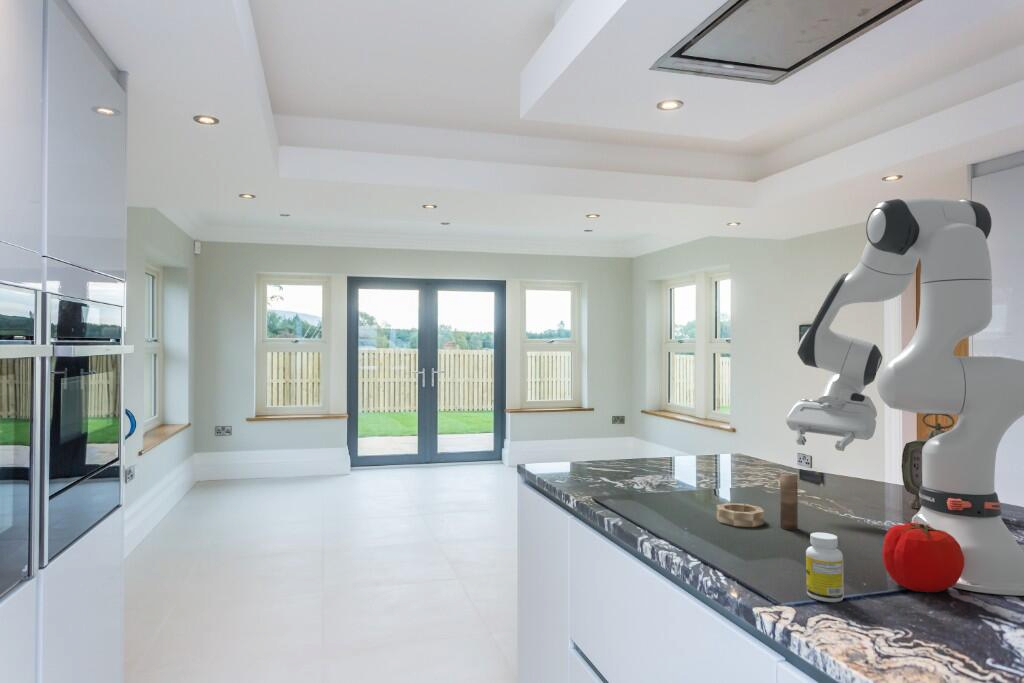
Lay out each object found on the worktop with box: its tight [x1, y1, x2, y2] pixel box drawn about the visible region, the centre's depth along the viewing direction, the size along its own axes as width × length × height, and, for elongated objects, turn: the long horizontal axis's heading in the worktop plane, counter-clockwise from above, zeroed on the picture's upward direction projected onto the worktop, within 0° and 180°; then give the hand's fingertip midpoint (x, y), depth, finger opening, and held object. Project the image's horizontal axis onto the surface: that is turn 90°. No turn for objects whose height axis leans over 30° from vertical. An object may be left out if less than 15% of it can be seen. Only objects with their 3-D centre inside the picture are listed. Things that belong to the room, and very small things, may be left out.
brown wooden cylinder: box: [779, 472, 799, 531], centre depth 143 cm, size 4×4×12 cm
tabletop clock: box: [901, 414, 955, 508], centre depth 161 cm, size 14×9×25 cm, turn 42°
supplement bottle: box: [805, 532, 845, 603], centre depth 102 cm, size 5×5×10 cm
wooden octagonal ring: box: [716, 502, 765, 528], centre depth 149 cm, size 10×10×3 cm
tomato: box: [881, 517, 964, 593], centre depth 105 cm, size 12×12×11 cm
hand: (819, 446), depth 153 cm, fingers open, 8 cm apart
